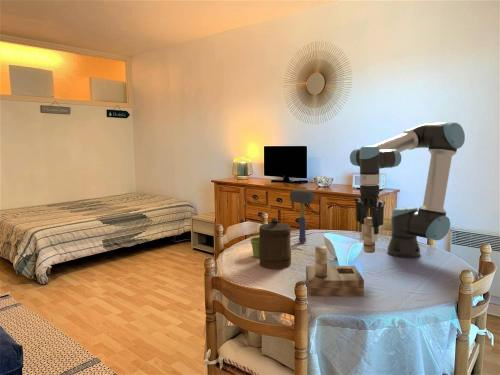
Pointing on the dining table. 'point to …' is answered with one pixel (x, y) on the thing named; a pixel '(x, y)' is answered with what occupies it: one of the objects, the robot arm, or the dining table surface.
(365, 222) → the beech peg
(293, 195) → the rubber mallet
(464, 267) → the dining table surface
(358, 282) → the board
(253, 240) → the plant pot
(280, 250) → the wooden container
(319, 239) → the dining table surface
